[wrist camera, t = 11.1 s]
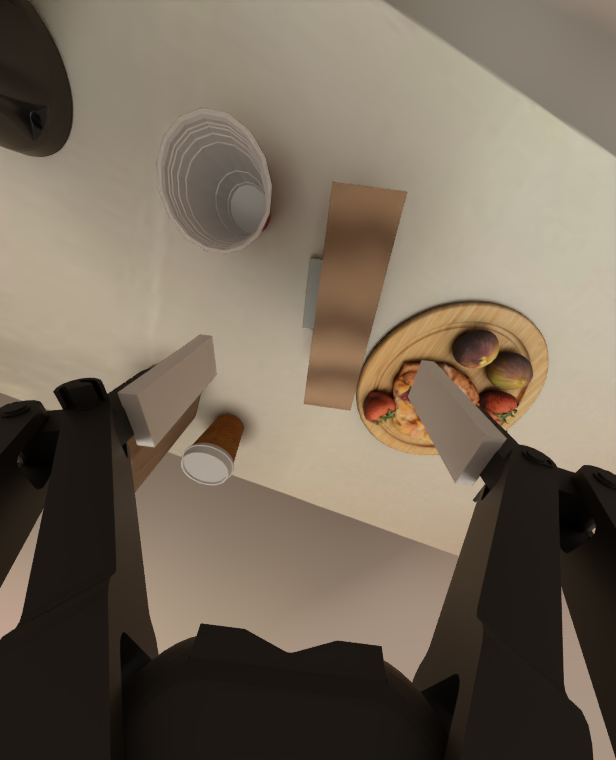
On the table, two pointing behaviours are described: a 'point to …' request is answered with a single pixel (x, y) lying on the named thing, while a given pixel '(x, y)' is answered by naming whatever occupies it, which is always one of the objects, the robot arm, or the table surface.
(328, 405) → the walnut beam
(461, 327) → the wooden plate with food
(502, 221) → the table surface
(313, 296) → the pedestal
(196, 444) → the disposable coffee cup
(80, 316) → the table surface
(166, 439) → the wooden block
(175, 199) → the plastic cup
